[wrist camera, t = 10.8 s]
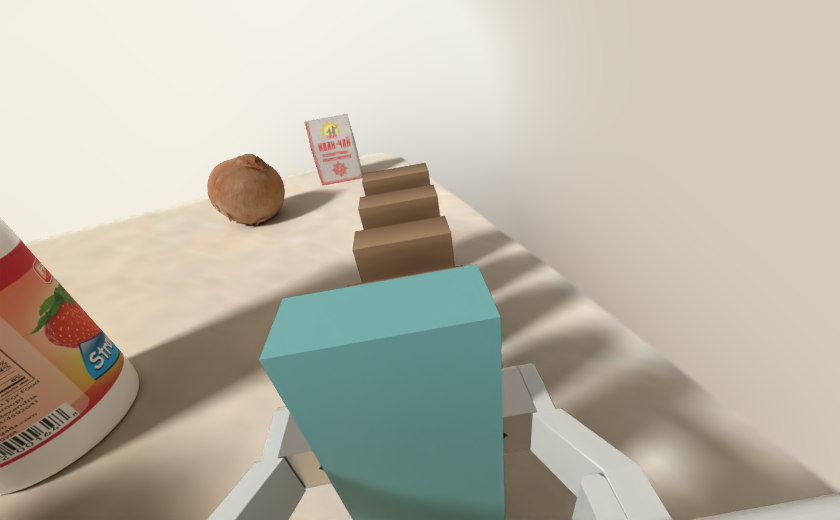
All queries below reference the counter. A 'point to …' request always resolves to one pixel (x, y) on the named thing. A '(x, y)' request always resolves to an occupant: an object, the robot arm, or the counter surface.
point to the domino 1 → (396, 179)
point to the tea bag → (334, 149)
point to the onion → (246, 189)
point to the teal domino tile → (398, 393)
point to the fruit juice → (51, 373)
